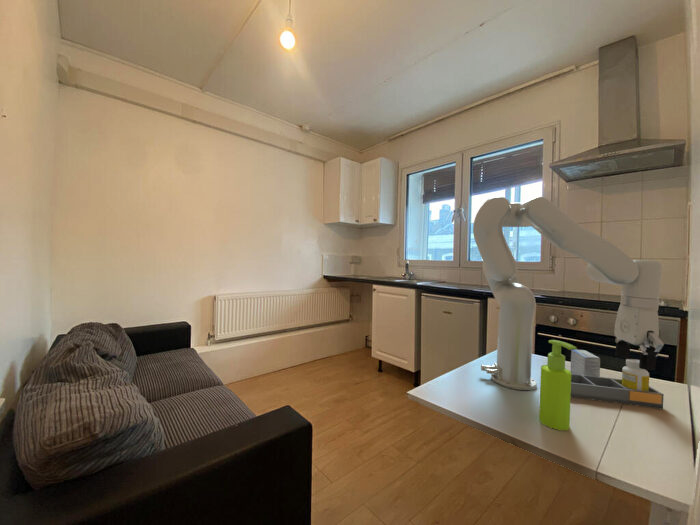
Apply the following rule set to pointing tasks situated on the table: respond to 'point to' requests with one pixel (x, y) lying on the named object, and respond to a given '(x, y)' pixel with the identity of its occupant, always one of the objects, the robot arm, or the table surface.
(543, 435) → the table surface
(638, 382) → the supplement bottle
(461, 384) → the table surface
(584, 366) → the medicine box
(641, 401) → the rack
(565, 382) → the soap dispenser
